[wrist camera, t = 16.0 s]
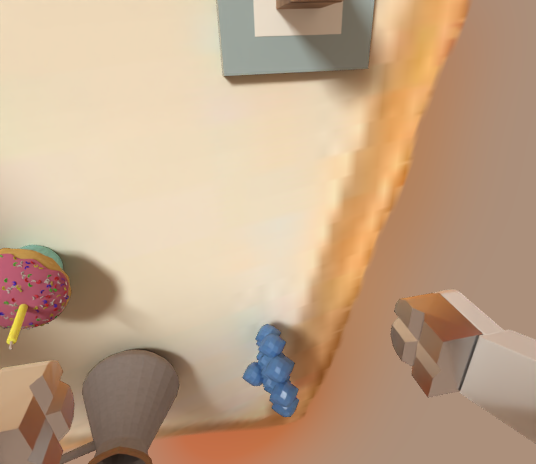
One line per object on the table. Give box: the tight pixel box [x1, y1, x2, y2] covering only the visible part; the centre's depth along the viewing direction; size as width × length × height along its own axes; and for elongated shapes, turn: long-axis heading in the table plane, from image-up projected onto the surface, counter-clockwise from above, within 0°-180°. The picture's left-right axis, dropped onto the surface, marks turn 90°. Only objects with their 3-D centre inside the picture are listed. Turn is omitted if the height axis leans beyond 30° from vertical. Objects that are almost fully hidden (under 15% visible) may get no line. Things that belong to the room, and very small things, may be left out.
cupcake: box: [0, 245, 71, 350], centre depth 31 cm, size 9×8×12 cm
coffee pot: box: [59, 349, 179, 464], centre depth 38 cm, size 21×12×15 cm, turn 81°
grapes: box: [242, 324, 299, 417], centre depth 43 cm, size 12×7×12 cm, turn 8°
